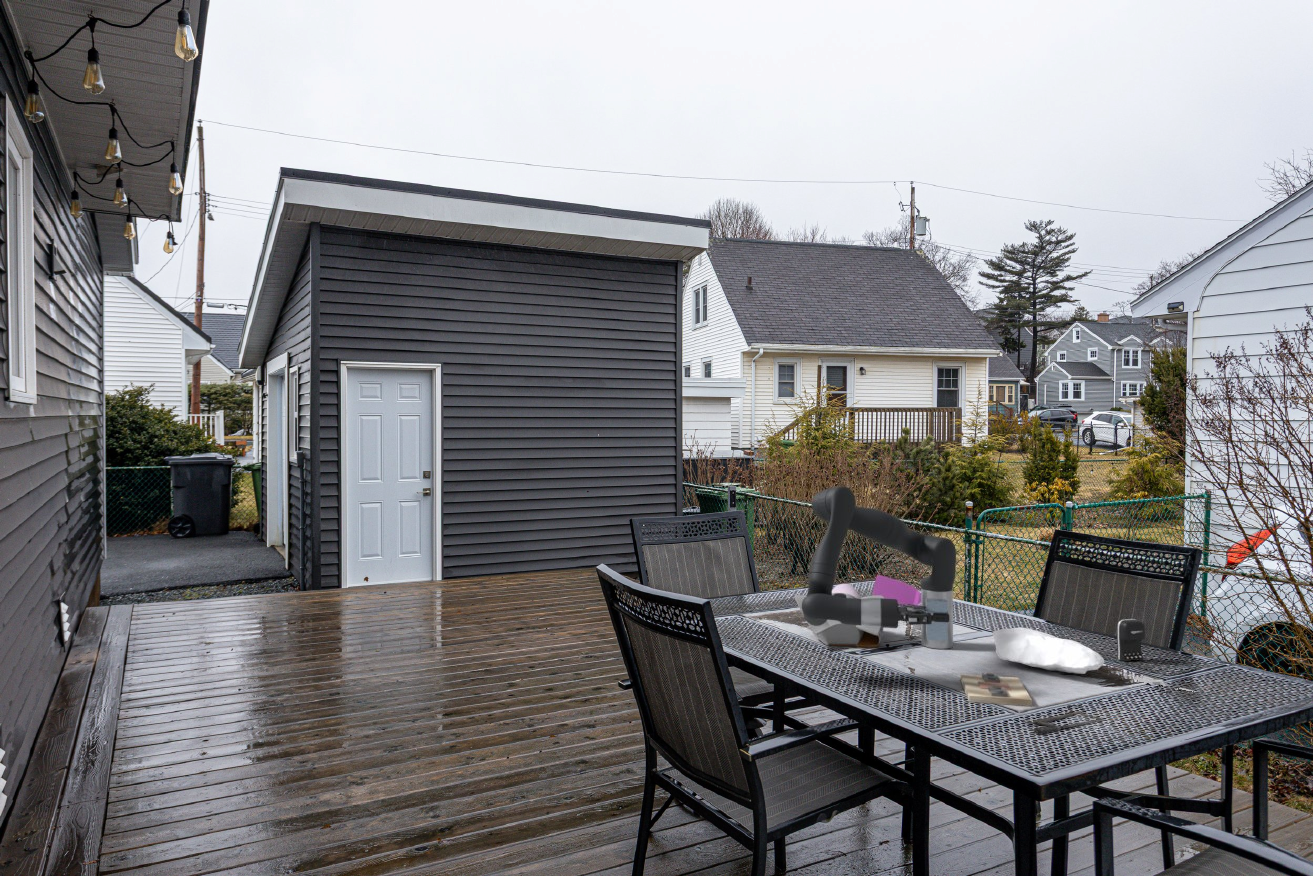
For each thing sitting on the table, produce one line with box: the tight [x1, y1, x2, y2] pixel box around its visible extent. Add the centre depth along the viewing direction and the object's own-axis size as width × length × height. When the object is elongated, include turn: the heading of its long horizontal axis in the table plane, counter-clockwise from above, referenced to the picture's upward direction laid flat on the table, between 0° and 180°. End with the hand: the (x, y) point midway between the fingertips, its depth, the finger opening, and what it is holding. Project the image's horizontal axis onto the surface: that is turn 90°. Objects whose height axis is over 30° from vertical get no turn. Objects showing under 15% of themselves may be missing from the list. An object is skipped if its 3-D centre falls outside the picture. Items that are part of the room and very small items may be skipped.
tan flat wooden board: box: [960, 672, 1033, 707], centre depth 201 cm, size 18×14×2 cm
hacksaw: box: [1022, 704, 1106, 736], centre depth 182 cm, size 24×10×2 cm, turn 115°
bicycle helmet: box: [794, 593, 884, 648], centre depth 253 cm, size 28×26×16 cm
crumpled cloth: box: [992, 627, 1105, 675], centre depth 224 cm, size 24×35×9 cm
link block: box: [926, 598, 948, 641], centre depth 208 cm, size 4×5×10 cm
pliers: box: [1134, 675, 1197, 692], centre depth 203 cm, size 10×2×15 cm
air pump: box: [832, 574, 921, 606], centre depth 293 cm, size 32×38×10 cm
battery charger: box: [1116, 618, 1146, 662], centre depth 229 cm, size 7×4×11 cm, turn 101°
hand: (948, 616), depth 207 cm, fingers closed on link block, 3 cm apart
